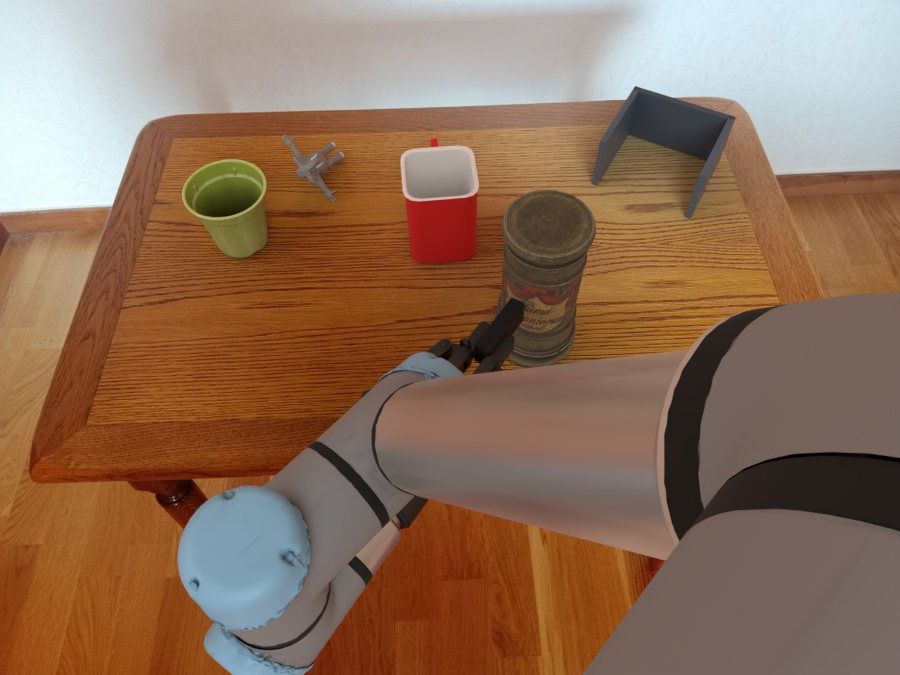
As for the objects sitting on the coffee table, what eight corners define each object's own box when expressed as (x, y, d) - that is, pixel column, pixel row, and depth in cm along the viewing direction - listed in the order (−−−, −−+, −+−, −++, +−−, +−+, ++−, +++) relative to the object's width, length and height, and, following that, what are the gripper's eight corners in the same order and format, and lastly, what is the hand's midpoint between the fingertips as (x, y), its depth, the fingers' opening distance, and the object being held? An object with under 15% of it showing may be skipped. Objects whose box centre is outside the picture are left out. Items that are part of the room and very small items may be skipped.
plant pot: (288, 212, 89) (272, 159, 82) (275, 270, 84) (258, 219, 76) (214, 211, 89) (192, 158, 82) (197, 269, 84) (172, 218, 77)
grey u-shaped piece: (690, 218, 87) (706, 176, 81) (591, 183, 91) (599, 140, 85) (719, 160, 93) (736, 116, 87) (624, 129, 96) (635, 85, 90)
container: (494, 299, 80) (500, 182, 66) (573, 305, 80) (598, 188, 65) (489, 366, 76) (495, 256, 61) (573, 372, 75) (600, 263, 60)
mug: (479, 261, 84) (481, 196, 75) (409, 267, 83) (403, 202, 75) (468, 189, 90) (469, 122, 82) (404, 194, 90) (397, 127, 81)
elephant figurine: (373, 171, 93) (339, 196, 86) (345, 194, 96) (310, 220, 89) (325, 107, 91) (285, 128, 84) (298, 132, 94) (258, 154, 87)
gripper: (314, 480, 63) (461, 302, 74) (435, 562, 59) (572, 361, 69) (298, 444, 57) (460, 255, 67) (432, 533, 52) (583, 316, 63)
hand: (517, 309), depth 68 cm, fingers closed
